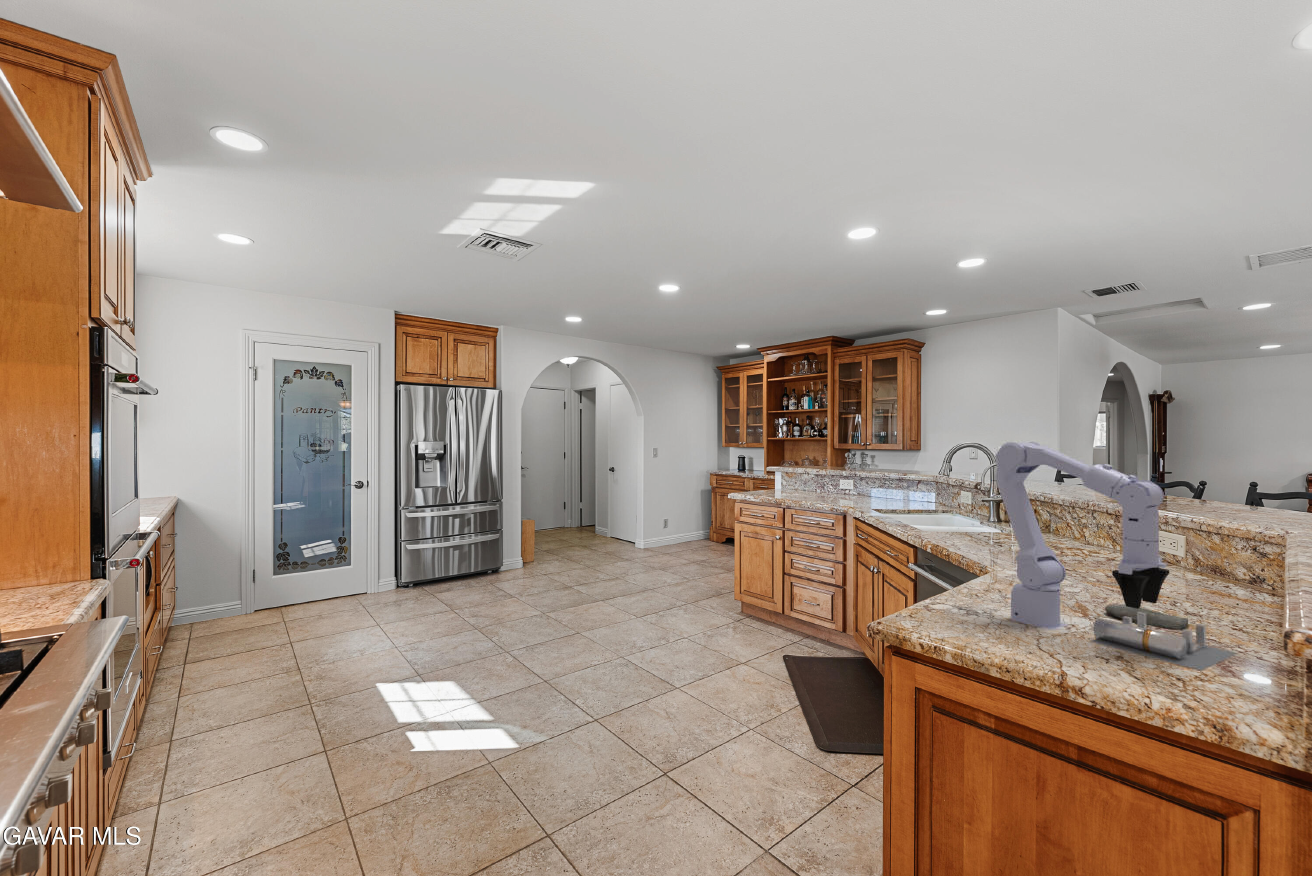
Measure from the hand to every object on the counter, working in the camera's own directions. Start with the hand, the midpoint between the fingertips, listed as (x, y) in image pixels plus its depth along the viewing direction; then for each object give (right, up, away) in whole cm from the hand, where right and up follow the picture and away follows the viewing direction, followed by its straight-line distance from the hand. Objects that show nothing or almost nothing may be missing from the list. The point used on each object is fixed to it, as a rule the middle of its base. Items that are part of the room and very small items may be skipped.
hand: (1141, 604), depth 115 cm
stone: (+18, -11, +19) cm, 28 cm away
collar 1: (+6, -9, +8) cm, 14 cm away
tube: (0, -9, 0) cm, 9 cm away
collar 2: (+10, -9, -1) cm, 14 cm away
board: (+5, -10, +1) cm, 11 cm away
